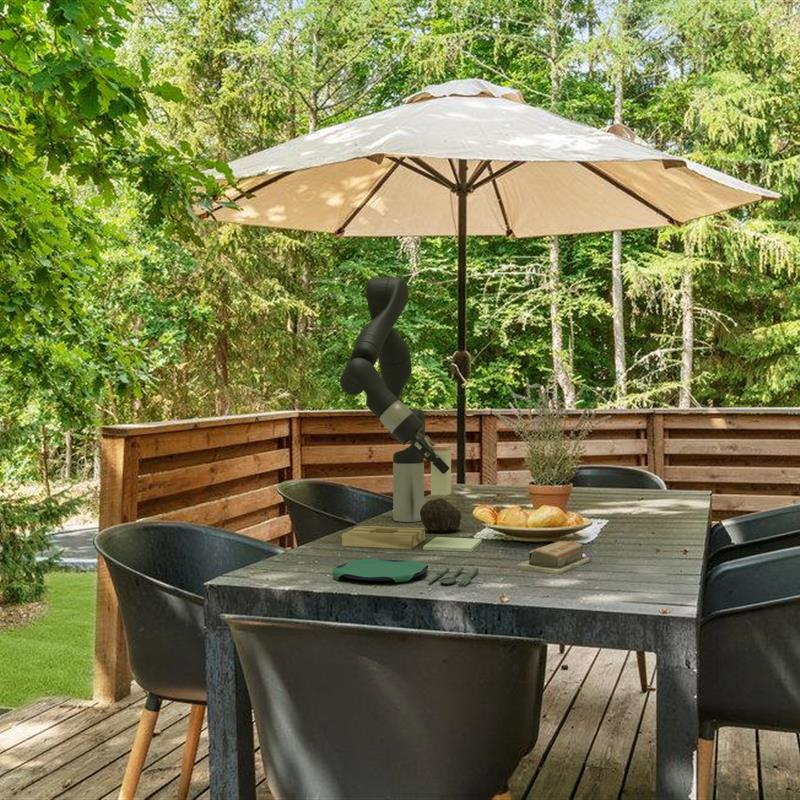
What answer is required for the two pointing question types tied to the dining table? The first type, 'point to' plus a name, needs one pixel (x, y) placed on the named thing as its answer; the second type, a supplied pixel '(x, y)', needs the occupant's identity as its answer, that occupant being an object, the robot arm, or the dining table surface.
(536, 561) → the packaged product
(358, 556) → the dining table surface
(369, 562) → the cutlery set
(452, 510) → the rock
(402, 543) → the wooden peg board
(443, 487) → the plug
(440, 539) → the mat
